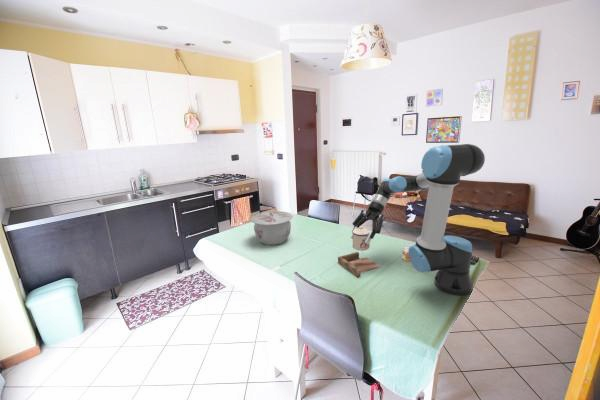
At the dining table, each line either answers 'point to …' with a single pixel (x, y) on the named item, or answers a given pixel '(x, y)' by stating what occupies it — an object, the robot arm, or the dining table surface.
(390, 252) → the dining table surface
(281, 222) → the chamber pot
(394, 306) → the dining table surface
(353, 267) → the low wooden tray
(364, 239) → the teacup with lid
